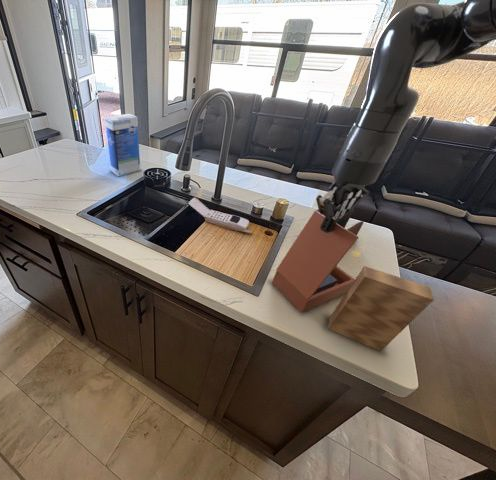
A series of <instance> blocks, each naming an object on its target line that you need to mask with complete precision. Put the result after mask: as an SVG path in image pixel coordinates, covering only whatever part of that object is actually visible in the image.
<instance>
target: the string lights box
mask: <svg viewBox="0 0 496 480" xmlns="http://www.w3.org/2000/svg"><path fill="white" fill-rule="evenodd" d="M138 121H139V120H138V116H137V115H134V114H132V113H124V114H123V113H122V114H117V115H110V116H104V124H105V131H106V139H107V140H106V141H107V147H108V155H109V164H110V171H111V173H113V174H115V175H116V177H121V176H125V175H128V174H133V173H135V172H136V173H137V172H139V171H141V160H140V158H141V157H140V140H139V138H140V137H139V122H138Z"/></svg>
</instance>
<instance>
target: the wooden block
mask: <svg viewBox="0 0 496 480" xmlns="http://www.w3.org/2000/svg"><path fill="white" fill-rule="evenodd" d="M354 279H355V281H354V282H353V284H352V285H351V287H350V288H349V289H348V291H347V292H346V293H345V294H343V297H342V298H341V299H340V301H339V302H338V304H337V306H336V307H335V308H334V310H333V311H332V313H331V315H330V316H329V317H328V324H327V329H328V330H330V331H332V332H335V333H337V334H340V335H341V336H344V337H346V338H349V339H351V340H353V341H355V342H358V343H361V344H363V345H364V346H365V345H366V346H367V347H370V348H373V349H375V350H377V351H379V352H382V351H383V350H384V349H385V348H387V346H388V345H389V344H391V342H392V341H393V340H394V339H395V338H396V337H397V336H399V335H400V334H401V332H402V331H404V330H405V329H406V328H407V327H408V326H409V325H410V324H411V323H412V322H413V321H414V320H415V319H416V318H417V317H418V316H419V315H420V314H421V313H422V312H424V310H426V309H427V308H428V306H430V304H431V303H433V302H434V300H435V299H434V296H433V292H432V289H431V287H430V286H427V285H425V284H422V283H418V282H415V281H413V280H409V279H406V278H403V277H399V276H397V275H393V274H391V273H387V272H384V271H381V270H378V269H376V268H372V267H369V266H366V265H365V266H363V268H362V269H361V270H360V272H359V273H358V274H357V276H356V278H354Z"/></svg>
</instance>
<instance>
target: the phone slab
mask: <svg viewBox="0 0 496 480" xmlns="http://www.w3.org/2000/svg"><path fill="white" fill-rule="evenodd" d="M337 281H338V280H337V279H335V278H334V277H333V276H332V275H330V274H329V275H328V277H327V278H326V279H325V280H324V282H323V283H322V284H321V285H320V287H319V288H318V289H317V290H316V292H315V293H314V294H317V293H319V292H322V291H324V290H326V289H329V288H331V287H334V285H335V284H336V282H337ZM314 294H313V295H314Z"/></svg>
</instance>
